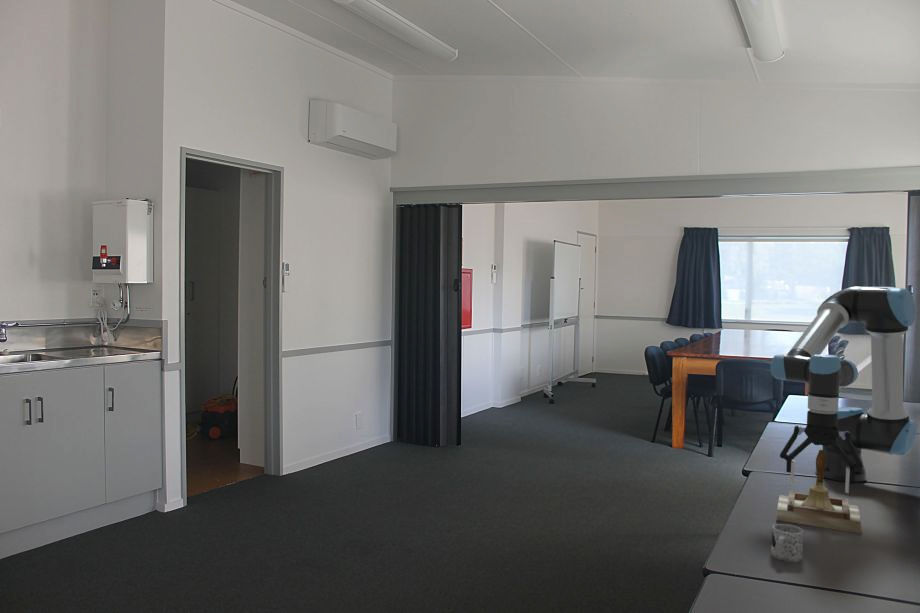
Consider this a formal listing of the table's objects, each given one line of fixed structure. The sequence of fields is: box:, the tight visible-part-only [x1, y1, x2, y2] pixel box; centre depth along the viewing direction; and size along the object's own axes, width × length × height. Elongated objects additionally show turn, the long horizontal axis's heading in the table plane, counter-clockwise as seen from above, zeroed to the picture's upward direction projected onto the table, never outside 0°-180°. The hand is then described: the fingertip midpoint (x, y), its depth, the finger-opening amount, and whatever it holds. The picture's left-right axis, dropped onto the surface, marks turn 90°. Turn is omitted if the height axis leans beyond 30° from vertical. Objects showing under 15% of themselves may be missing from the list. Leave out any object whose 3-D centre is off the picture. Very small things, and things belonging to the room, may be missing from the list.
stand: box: [776, 490, 862, 534], centre depth 202 cm, size 15×20×4 cm
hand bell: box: [801, 449, 835, 511], centre depth 201 cm, size 8×8×16 cm
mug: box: [770, 523, 804, 563], centre depth 172 cm, size 10×7×7 cm, turn 141°
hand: (818, 488), depth 201 cm, fingers open, 13 cm apart
